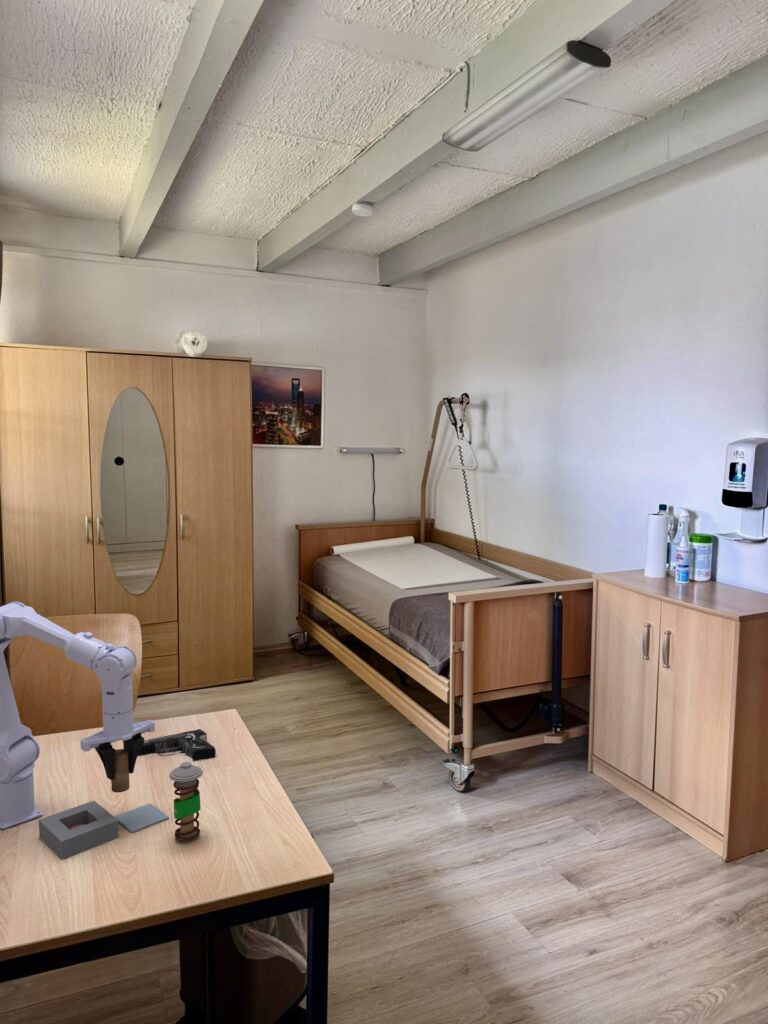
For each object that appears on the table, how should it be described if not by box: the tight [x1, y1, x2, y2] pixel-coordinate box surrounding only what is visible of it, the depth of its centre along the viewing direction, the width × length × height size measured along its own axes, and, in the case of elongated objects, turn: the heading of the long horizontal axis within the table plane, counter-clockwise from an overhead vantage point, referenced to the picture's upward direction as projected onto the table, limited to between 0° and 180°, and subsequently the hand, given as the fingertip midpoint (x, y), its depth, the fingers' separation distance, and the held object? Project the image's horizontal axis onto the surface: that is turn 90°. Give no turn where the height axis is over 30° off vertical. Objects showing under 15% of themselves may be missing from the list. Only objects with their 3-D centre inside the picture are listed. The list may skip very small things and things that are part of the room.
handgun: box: [122, 728, 217, 762], centre depth 182 cm, size 20×3×14 cm
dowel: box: [110, 748, 131, 793], centre depth 148 cm, size 3×3×8 cm
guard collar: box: [38, 800, 120, 860], centre depth 144 cm, size 11×11×4 cm
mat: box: [113, 803, 170, 834], centre depth 151 cm, size 8×8×1 cm
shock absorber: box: [168, 761, 204, 842], centre depth 143 cm, size 6×6×15 cm
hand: (120, 774), depth 148 cm, fingers closed on dowel, 3 cm apart
